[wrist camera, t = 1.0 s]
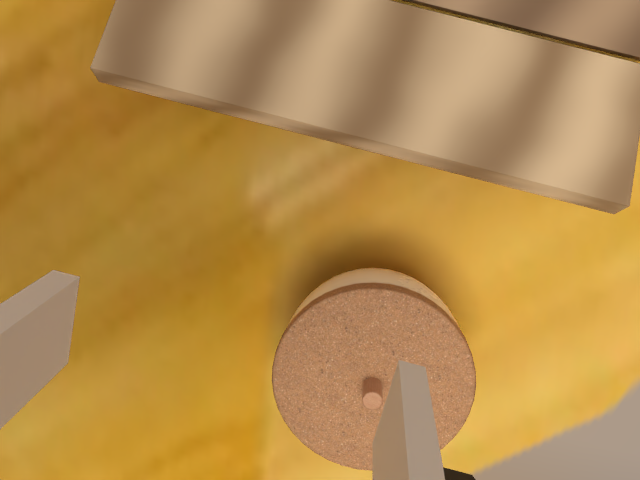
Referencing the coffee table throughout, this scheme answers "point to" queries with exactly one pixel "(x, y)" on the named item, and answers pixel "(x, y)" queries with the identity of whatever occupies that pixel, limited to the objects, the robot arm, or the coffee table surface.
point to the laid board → (560, 20)
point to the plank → (393, 86)
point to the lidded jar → (367, 361)
